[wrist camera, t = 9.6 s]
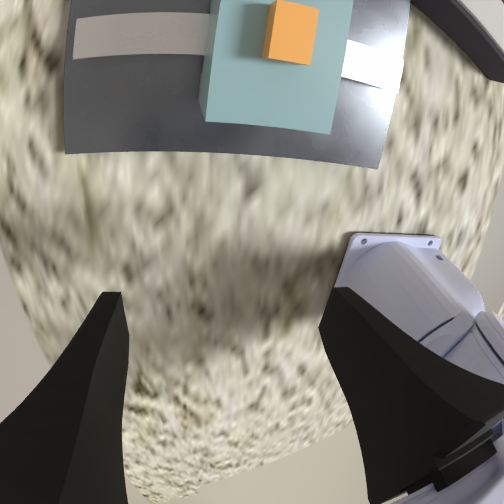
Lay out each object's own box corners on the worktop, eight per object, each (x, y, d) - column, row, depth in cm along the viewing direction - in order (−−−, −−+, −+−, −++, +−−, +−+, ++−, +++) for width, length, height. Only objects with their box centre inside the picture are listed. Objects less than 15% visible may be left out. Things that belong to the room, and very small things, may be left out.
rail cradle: (401, -6, 12) (427, -9, 10) (369, 164, 19) (390, 178, 17) (88, -52, 8) (75, -66, 6) (71, 149, 15) (55, 163, 13)
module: (295, -1, 11) (369, -33, 6) (278, 107, 15) (340, 140, 9) (213, -14, 10) (235, -69, 5) (198, 99, 14) (207, 126, 8)
